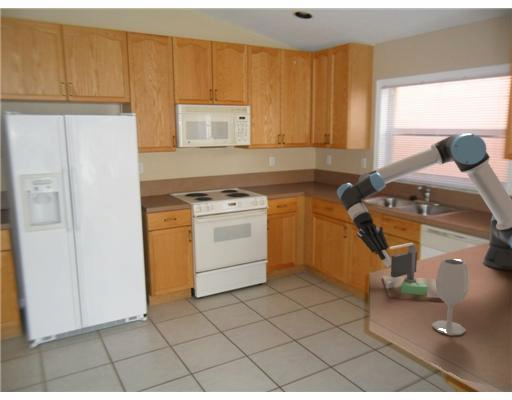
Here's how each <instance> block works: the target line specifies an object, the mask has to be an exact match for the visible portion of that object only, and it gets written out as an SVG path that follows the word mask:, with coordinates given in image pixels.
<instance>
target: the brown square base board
mask: <svg viewBox="0 0 512 400" xmlns="http://www.w3.org/2000/svg"><path fill="white" fill-rule="evenodd" d="M404 277H405V276H399V277H396V278H394V277H391V275H382V280H383V283H384V286H385V290H386V293H387V296H388V298H389V299H397V300H398V299H400V300H413V301H430V302H431V301H432V302H443V300H442V299H441V298H440V297H439V296H438V294H437V290H436V280H435V279H434V278H429V277H428V278H426V277H415V278H416V283H424V284H425V285H426V286H427V287H428V288H427V295H417V294H407V293H401V287H402V283H403V281H404ZM390 281H394V282H395V285H394V287H393V288H389V289H388V288H386V282H390ZM404 282H405V281H404Z"/></svg>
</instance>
